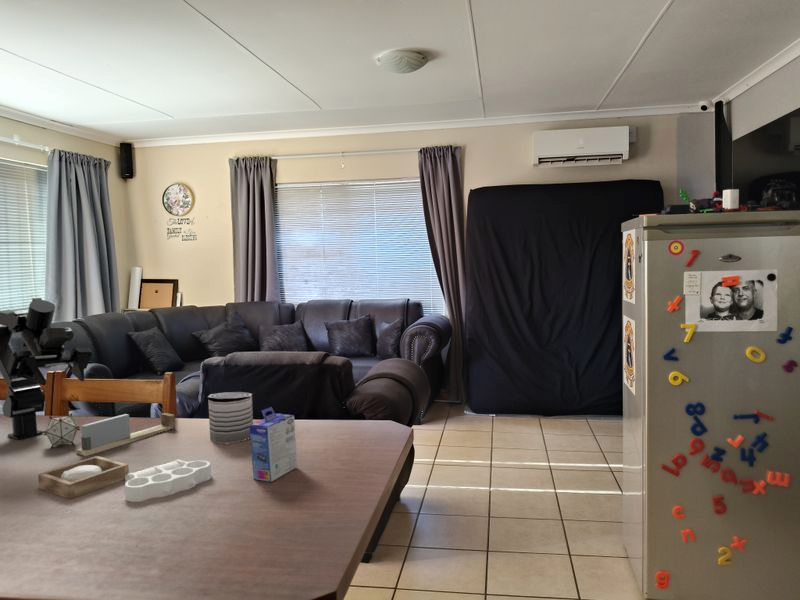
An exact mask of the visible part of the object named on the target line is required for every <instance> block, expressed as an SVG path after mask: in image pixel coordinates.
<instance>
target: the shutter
mask: <svg viewBox="0 0 800 600" xmlns="http://www.w3.org/2000/svg"><path fill="white" fill-rule="evenodd" d="M80 427H81V437H80V439H81V448H82V449H85V450H90V449H91V448H94V447H98V446H101V445H104V444H108V443H111V442H114V441H118V440H121V439H124V438H128V437H130V434H131V426H130V414H127V413H124V414H119V415H116V416H112V417H109V418H105V419H101V420H98V421H93V422H90V423H89V422H88V423H86V424H82V425H81V426H80Z"/></svg>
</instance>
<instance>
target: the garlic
mask: <svg viewBox="0 0 800 600" xmlns="http://www.w3.org/2000/svg"><path fill="white" fill-rule="evenodd" d="M100 472H102V469H101V468H100V467H99V466H95V465H83V466H78V467H75V468H73V469H71V470H68V471H64V473H63V474H62V475H61V478H60V479H63V480H66V481H69V482H73V481H76V480H79V479H82V478H85V477H88V476H91V475H94V474H97V473H100Z"/></svg>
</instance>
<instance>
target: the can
mask: <svg viewBox="0 0 800 600" xmlns="http://www.w3.org/2000/svg"><path fill="white" fill-rule="evenodd" d="M207 398H208V400H207V401H208V419H209V421H208V422H209V437H210V438H209V439H210V441H211V442H212V443H214V442H215V443H214V444H221V443H230V444H234V443H233V442H237V443H240V442H239V441H243V440H245V439H248V438H250V425H252V424H254V416H253V415H254V414H253V412H254V411H253V393H250V392H244V391H243V392H242V391H233V392H232V391H231V392H229V391H228V392H227V391H226V392H218V393H211V394H209V395H208V396H207ZM248 440H249V439H248ZM245 441H246V440H245ZM243 442H244V441H243Z"/></svg>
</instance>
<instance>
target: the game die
mask: <svg viewBox="0 0 800 600" xmlns="http://www.w3.org/2000/svg"><path fill="white" fill-rule="evenodd" d="M72 416H73V412H71V413H70V415H68V416H67V415H66V416H59V417H52V416H50V415H49V416H48V417H49V419H50V420H49V423H48V425H47V427H46V429H45V430H42V431H43V432H42V434H43V435H44V436H47V439H48V440H49V442H50V444H51V446H50V449H51V448H52V449H53V448H54V446H60V445H68V444H69V445H70V444H71V445H72V446H75V443H74V440H75V437H76V434H77V431H80V430H81V428H80V426H78V425H76V422H75V421H74V419H73V417H72Z"/></svg>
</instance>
